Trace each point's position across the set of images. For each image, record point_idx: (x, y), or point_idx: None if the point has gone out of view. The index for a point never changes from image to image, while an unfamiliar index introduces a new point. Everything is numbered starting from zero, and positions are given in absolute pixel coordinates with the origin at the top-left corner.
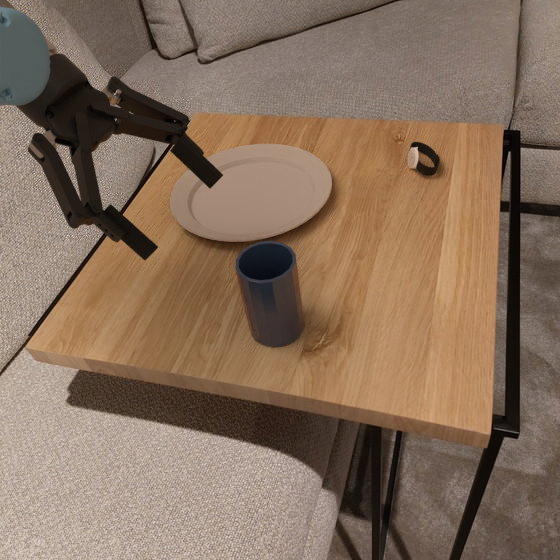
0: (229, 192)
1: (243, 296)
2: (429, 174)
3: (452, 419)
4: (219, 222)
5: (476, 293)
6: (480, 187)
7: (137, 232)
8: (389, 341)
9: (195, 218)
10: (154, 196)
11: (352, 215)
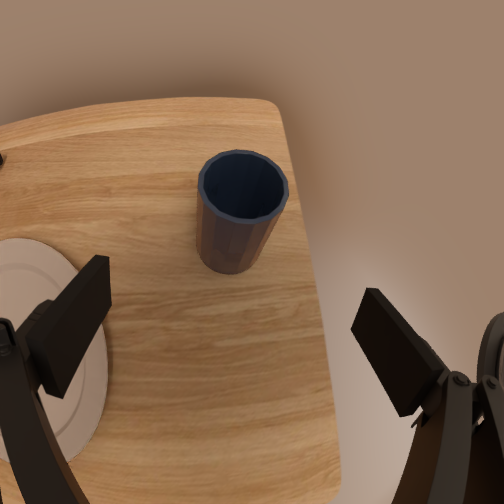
0: None
1: (269, 233)
2: (2, 160)
3: (276, 113)
4: None
5: (153, 105)
6: (26, 126)
7: (395, 314)
8: (219, 147)
9: (64, 425)
10: None
11: (41, 215)
